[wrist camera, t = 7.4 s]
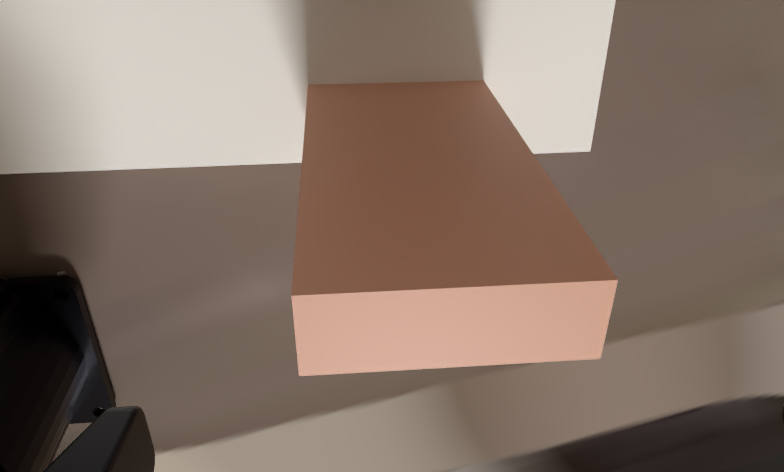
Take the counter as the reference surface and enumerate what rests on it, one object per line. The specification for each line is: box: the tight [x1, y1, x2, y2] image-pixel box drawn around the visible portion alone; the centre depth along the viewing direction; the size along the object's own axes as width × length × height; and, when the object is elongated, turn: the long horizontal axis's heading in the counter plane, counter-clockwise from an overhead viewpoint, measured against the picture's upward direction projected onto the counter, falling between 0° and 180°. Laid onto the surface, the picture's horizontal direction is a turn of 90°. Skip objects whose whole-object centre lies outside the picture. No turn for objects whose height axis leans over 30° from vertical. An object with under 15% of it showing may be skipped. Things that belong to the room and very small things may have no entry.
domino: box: [292, 81, 618, 376], centre depth 14 cm, size 2×5×10 cm, turn 90°
